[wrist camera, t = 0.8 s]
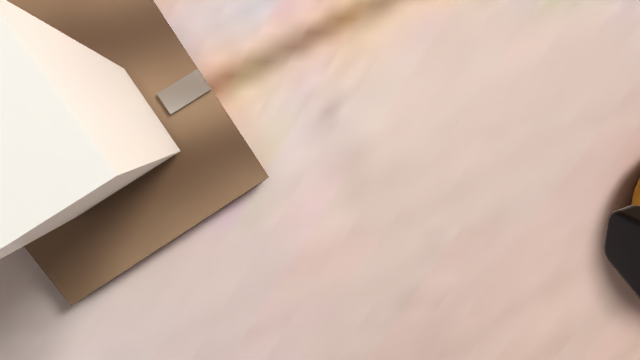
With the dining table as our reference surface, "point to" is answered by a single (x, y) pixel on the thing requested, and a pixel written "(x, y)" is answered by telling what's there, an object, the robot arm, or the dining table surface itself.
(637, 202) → the donut
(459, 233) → the dining table surface
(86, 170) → the white tall block
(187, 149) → the brown flat wooden board
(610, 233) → the robot arm
